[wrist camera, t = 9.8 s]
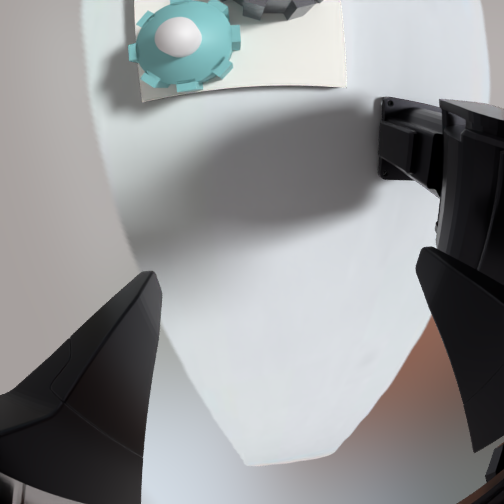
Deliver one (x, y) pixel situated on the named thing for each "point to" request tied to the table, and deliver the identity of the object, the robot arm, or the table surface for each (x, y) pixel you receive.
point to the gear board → (234, 47)
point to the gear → (276, 7)
